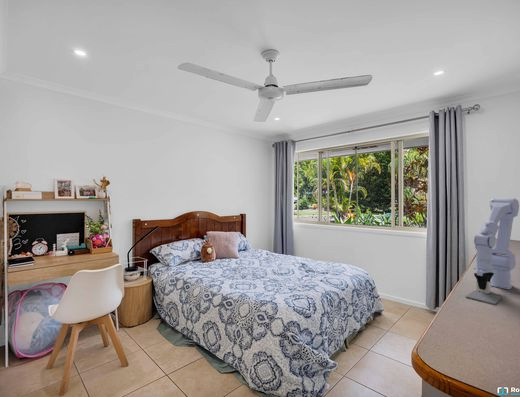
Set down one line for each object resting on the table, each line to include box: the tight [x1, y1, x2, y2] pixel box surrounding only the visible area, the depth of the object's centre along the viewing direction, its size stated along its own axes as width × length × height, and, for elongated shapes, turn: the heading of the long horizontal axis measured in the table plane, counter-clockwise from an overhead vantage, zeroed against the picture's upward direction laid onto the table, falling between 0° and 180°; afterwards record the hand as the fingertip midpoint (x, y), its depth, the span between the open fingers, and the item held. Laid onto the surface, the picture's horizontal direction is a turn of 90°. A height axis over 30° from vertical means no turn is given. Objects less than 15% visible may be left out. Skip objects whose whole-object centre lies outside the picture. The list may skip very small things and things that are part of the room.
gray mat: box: [465, 290, 503, 306], centre depth 120 cm, size 12×10×1 cm
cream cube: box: [475, 281, 492, 294], centre depth 128 cm, size 4×4×4 cm
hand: (483, 288), depth 128 cm, fingers closed on cream cube, 4 cm apart
